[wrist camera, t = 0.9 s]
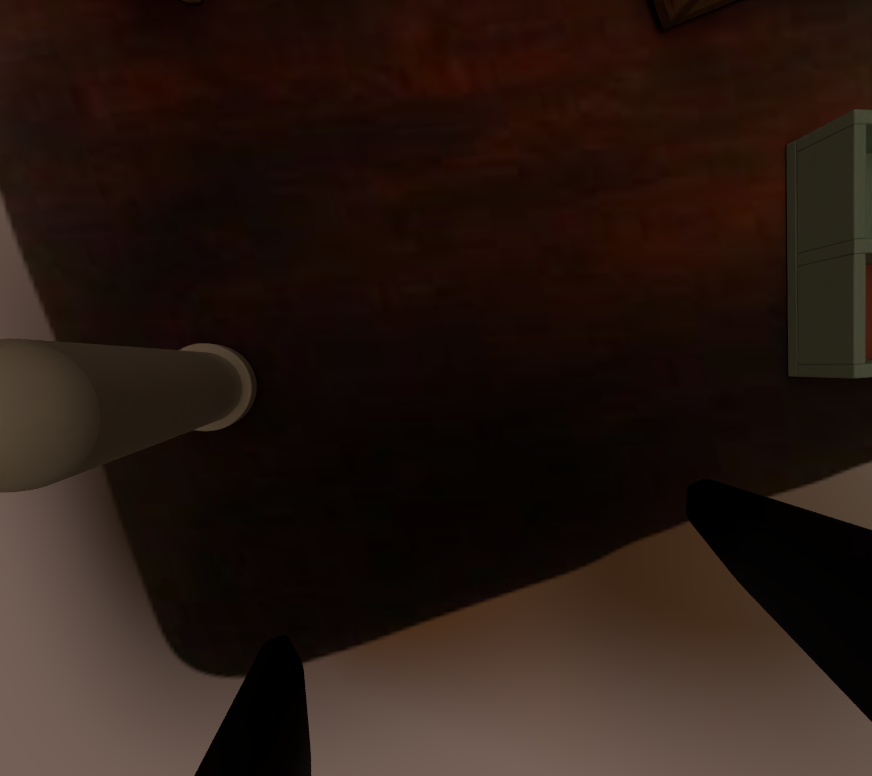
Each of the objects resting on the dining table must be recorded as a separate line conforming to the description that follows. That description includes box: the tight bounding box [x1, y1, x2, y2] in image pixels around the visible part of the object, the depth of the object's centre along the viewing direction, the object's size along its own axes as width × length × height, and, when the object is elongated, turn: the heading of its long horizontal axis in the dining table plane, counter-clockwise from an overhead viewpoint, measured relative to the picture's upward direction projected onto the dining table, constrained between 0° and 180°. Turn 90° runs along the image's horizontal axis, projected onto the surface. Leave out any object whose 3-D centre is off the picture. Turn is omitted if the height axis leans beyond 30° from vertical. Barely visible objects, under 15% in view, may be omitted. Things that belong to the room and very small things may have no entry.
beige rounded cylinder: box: [0, 339, 257, 492], centre depth 14 cm, size 4×4×13 cm
